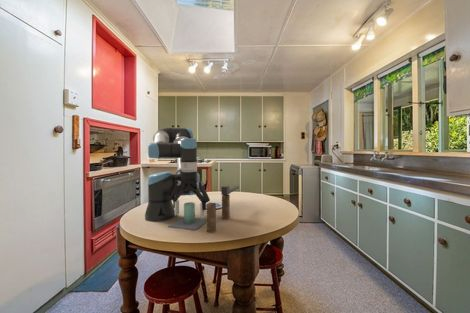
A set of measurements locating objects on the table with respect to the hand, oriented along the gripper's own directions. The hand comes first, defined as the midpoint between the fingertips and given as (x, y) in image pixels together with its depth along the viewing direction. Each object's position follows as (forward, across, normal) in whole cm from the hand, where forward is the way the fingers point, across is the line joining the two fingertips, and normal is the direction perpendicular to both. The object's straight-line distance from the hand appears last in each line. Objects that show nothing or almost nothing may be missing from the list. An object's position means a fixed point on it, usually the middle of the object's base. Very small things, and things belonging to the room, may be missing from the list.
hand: (189, 215), depth 105 cm
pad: (+4, 0, 0) cm, 4 cm away
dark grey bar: (-9, +14, +21) cm, 27 cm away
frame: (+4, +14, +3) cm, 15 cm away
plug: (+3, 0, 0) cm, 3 cm away
